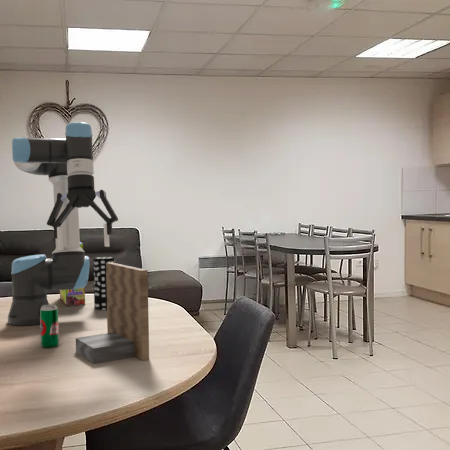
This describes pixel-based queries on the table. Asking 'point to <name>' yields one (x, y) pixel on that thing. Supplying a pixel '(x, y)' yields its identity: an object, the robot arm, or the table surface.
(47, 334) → the soda can
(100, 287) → the spotted tube
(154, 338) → the table surface
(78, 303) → the snack box
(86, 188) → the robot arm
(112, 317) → the wall board
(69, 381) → the table surface
